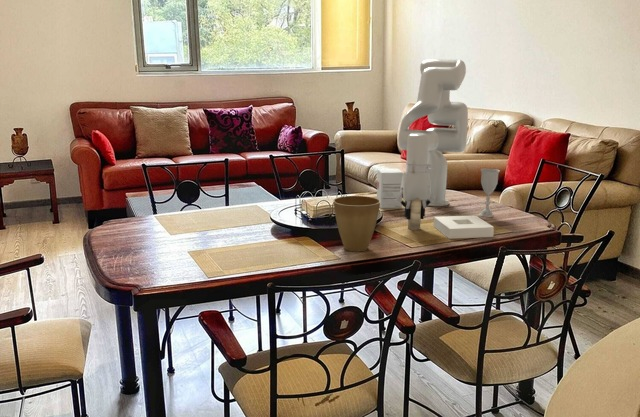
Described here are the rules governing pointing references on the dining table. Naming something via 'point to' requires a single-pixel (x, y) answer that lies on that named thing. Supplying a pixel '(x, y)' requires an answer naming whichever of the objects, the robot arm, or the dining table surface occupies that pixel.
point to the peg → (415, 214)
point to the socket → (463, 227)
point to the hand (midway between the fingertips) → (414, 218)
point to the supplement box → (389, 187)
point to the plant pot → (356, 220)
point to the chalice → (488, 187)
